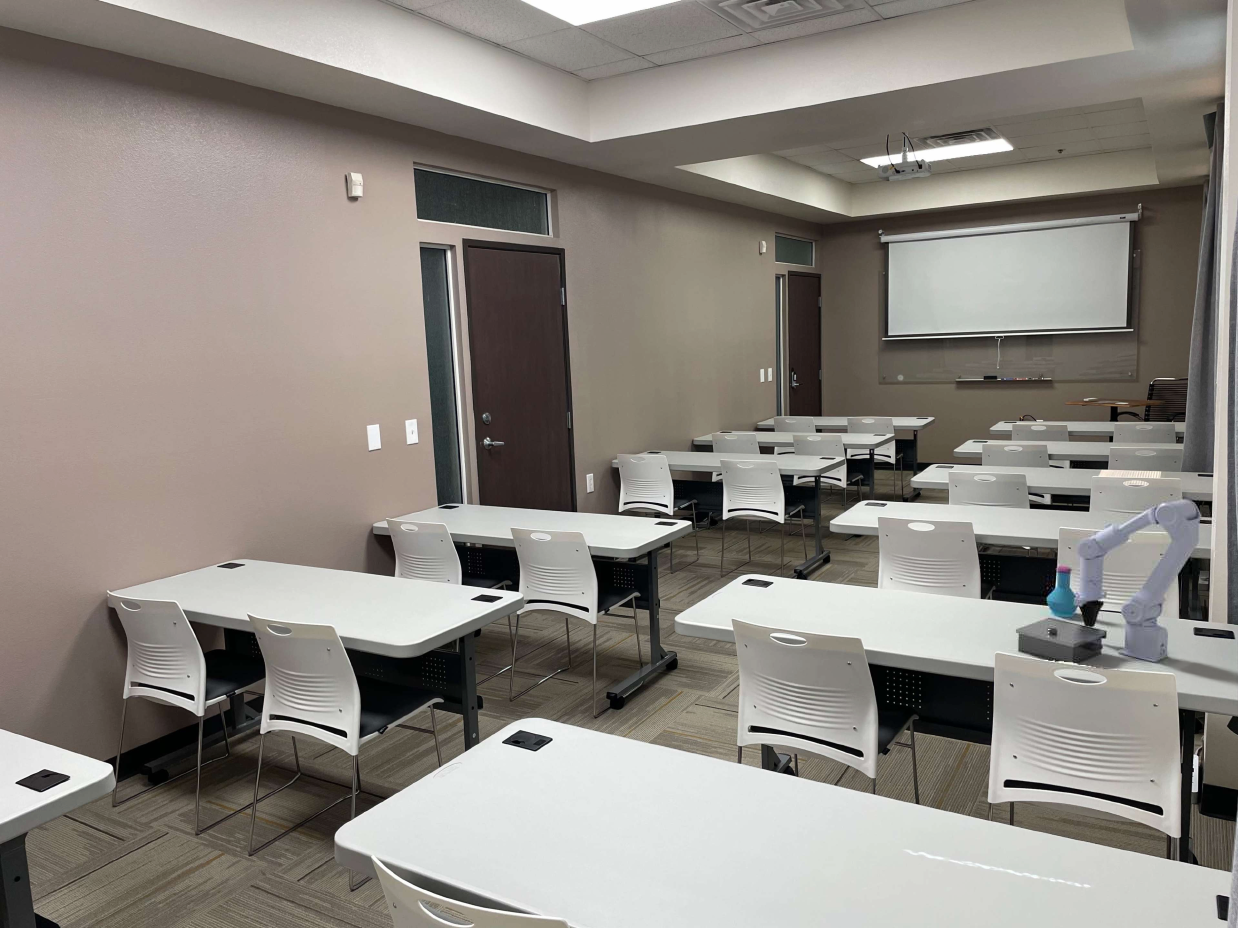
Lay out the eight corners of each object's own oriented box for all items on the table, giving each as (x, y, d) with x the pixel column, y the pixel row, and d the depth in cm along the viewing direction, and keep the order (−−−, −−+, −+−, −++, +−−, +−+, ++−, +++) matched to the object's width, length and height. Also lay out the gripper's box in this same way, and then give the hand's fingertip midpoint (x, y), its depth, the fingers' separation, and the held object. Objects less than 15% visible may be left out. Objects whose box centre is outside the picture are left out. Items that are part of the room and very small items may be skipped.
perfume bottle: (1071, 609, 275) (1073, 564, 273) (1084, 618, 265) (1085, 571, 264) (1041, 609, 275) (1042, 564, 274) (1053, 618, 266) (1054, 571, 265)
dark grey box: (1112, 656, 232) (1113, 638, 231) (1083, 669, 223) (1084, 650, 223) (1037, 637, 249) (1037, 620, 248) (1008, 648, 240) (1008, 631, 240)
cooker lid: (1106, 637, 234) (1106, 626, 234) (1073, 651, 225) (1073, 639, 224) (1049, 624, 247) (1049, 613, 247) (1015, 636, 238) (1016, 624, 237)
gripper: (1089, 572, 250) (1087, 617, 252) (1063, 580, 242) (1062, 627, 243) (1114, 576, 244) (1113, 623, 246) (1089, 585, 236) (1087, 633, 238)
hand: (1089, 625), depth 244 cm, fingers closed
